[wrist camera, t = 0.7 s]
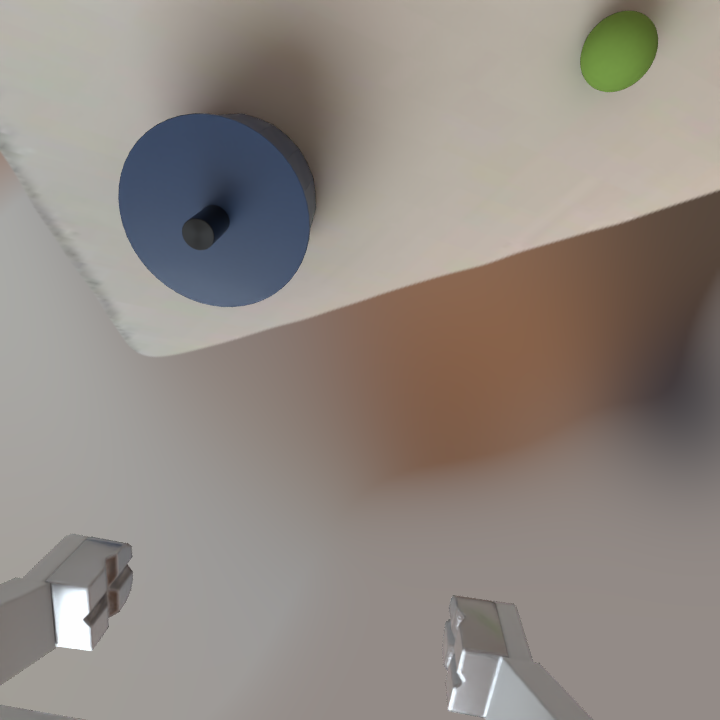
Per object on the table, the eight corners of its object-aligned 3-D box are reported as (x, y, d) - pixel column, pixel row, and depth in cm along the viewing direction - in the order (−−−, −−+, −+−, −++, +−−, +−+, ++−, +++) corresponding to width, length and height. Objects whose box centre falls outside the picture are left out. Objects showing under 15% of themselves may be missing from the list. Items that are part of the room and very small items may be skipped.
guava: (591, 5, 40) (621, -6, 35) (650, 28, 41) (688, 21, 36) (558, 79, 43) (582, 79, 38) (614, 100, 43) (645, 102, 39)
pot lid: (98, 118, 37) (57, 124, 32) (299, 106, 36) (289, 110, 31) (152, 305, 45) (126, 332, 40) (319, 298, 44) (313, 325, 39)
